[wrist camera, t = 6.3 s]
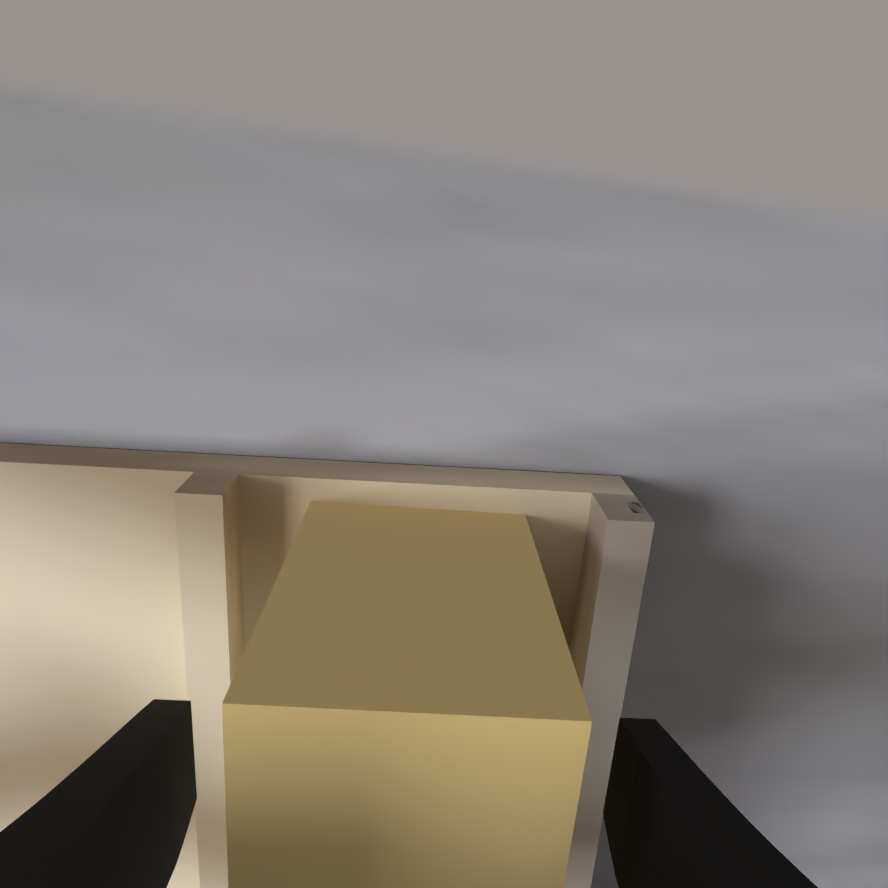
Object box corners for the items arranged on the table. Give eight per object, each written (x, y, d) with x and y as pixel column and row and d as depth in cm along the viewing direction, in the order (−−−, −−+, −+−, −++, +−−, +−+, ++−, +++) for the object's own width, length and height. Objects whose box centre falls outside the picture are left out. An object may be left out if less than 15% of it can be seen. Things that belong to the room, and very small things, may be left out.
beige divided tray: (535, 1021, 18) (548, 1123, 16) (-141, 1005, 18) (-218, 1110, 16) (619, 475, 13) (655, 522, 11) (-314, 425, 13) (-461, 465, 11)
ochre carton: (305, 501, 12) (213, 702, 7) (525, 514, 13) (592, 721, 7) (302, 798, 15) (229, 1120, 9) (490, 806, 15) (522, 1127, 9)
